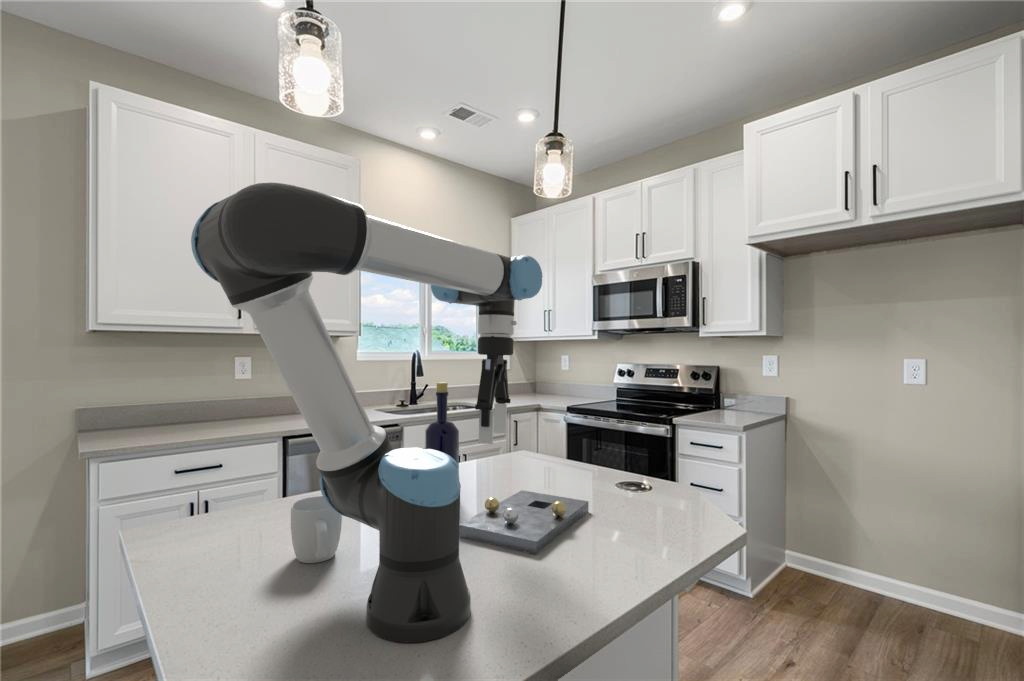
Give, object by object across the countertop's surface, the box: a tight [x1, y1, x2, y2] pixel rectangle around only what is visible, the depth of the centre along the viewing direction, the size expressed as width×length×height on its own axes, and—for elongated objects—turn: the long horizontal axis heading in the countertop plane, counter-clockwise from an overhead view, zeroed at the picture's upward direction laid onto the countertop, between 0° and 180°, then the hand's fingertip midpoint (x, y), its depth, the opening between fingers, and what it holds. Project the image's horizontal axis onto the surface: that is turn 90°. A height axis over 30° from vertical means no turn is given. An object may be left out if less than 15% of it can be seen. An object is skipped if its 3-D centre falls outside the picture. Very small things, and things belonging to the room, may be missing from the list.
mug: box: [290, 495, 343, 564], centre depth 92 cm, size 13×9×10 cm
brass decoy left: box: [484, 497, 500, 512], centre depth 111 cm, size 3×3×3 cm
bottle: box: [424, 381, 460, 470], centre depth 128 cm, size 9×9×30 cm
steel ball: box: [503, 508, 518, 524], centre depth 104 cm, size 3×3×3 cm
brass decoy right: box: [551, 501, 566, 517], centre depth 109 cm, size 3×3×3 cm
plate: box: [459, 490, 589, 556], centre depth 111 cm, size 28×18×2 cm, turn 151°
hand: (493, 438), depth 104 cm, fingers open, 13 cm apart
